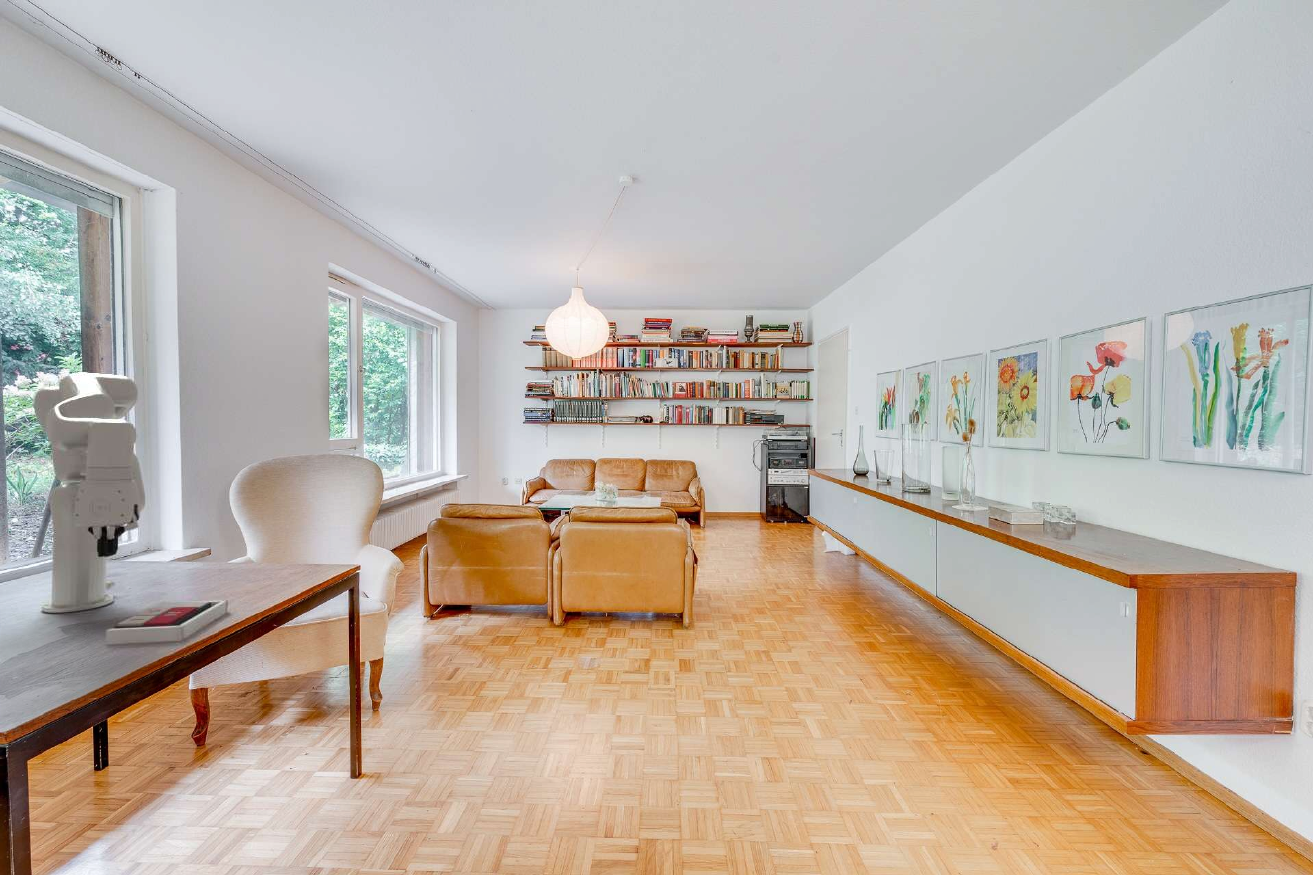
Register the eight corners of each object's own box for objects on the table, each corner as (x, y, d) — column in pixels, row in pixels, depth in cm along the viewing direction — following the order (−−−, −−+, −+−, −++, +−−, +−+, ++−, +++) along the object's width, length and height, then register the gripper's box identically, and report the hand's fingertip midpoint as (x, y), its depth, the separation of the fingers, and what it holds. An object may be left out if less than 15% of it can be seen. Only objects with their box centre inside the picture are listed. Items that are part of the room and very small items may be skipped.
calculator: (112, 623, 120) (161, 599, 135) (112, 643, 120) (161, 617, 135) (169, 622, 122) (212, 599, 137) (169, 641, 122) (212, 616, 137)
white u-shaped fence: (164, 614, 136) (164, 602, 136) (227, 611, 140) (227, 600, 140) (105, 644, 117) (106, 630, 117) (181, 640, 120) (181, 626, 120)
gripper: (55, 475, 120) (53, 560, 120) (138, 476, 123) (136, 558, 123) (82, 473, 127) (79, 552, 127) (159, 474, 131) (157, 551, 131)
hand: (107, 555), depth 125 cm, fingers closed
